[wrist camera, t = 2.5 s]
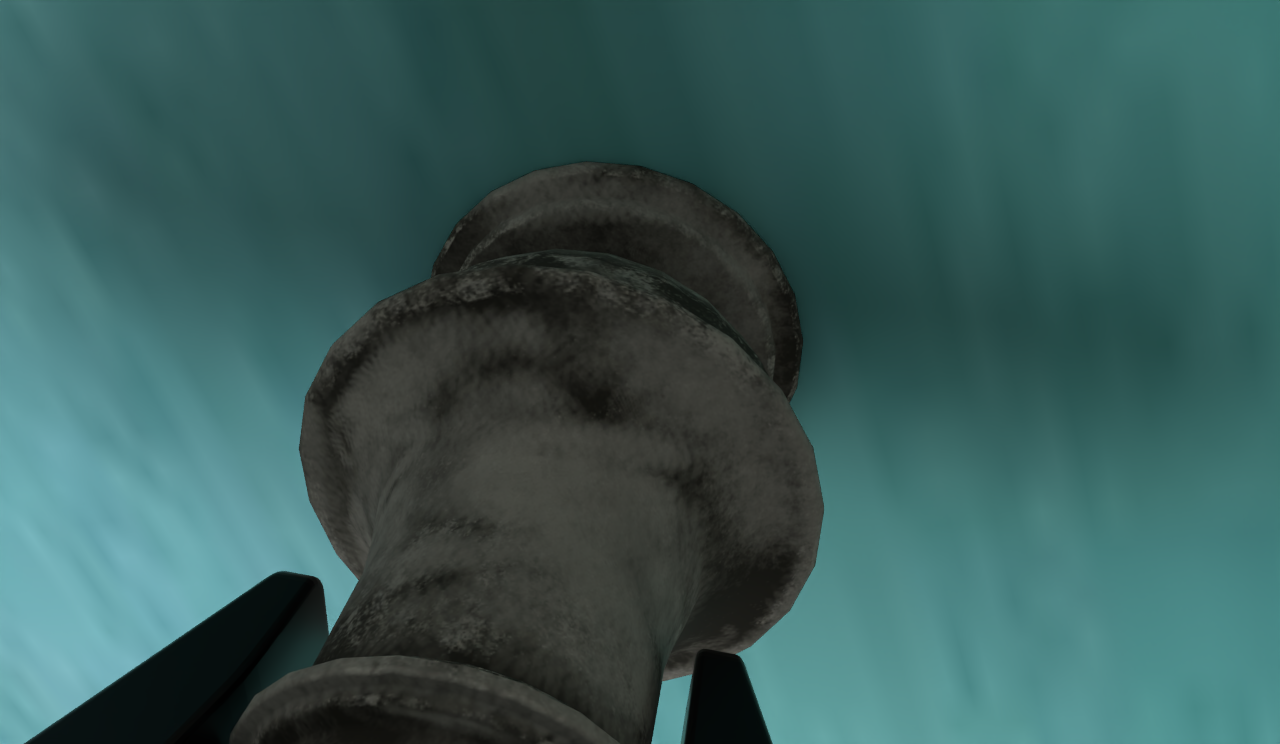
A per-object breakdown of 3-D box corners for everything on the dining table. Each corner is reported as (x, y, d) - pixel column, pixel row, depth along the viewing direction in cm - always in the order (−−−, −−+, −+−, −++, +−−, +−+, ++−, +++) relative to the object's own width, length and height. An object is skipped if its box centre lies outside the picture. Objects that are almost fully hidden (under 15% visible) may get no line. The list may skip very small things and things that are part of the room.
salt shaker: (362, 149, 13) (-1066, 1488, 3) (823, 126, 12) (791, 2050, 2) (454, 501, 16) (-133, 1734, 6) (826, 508, 15) (819, 2014, 5)
